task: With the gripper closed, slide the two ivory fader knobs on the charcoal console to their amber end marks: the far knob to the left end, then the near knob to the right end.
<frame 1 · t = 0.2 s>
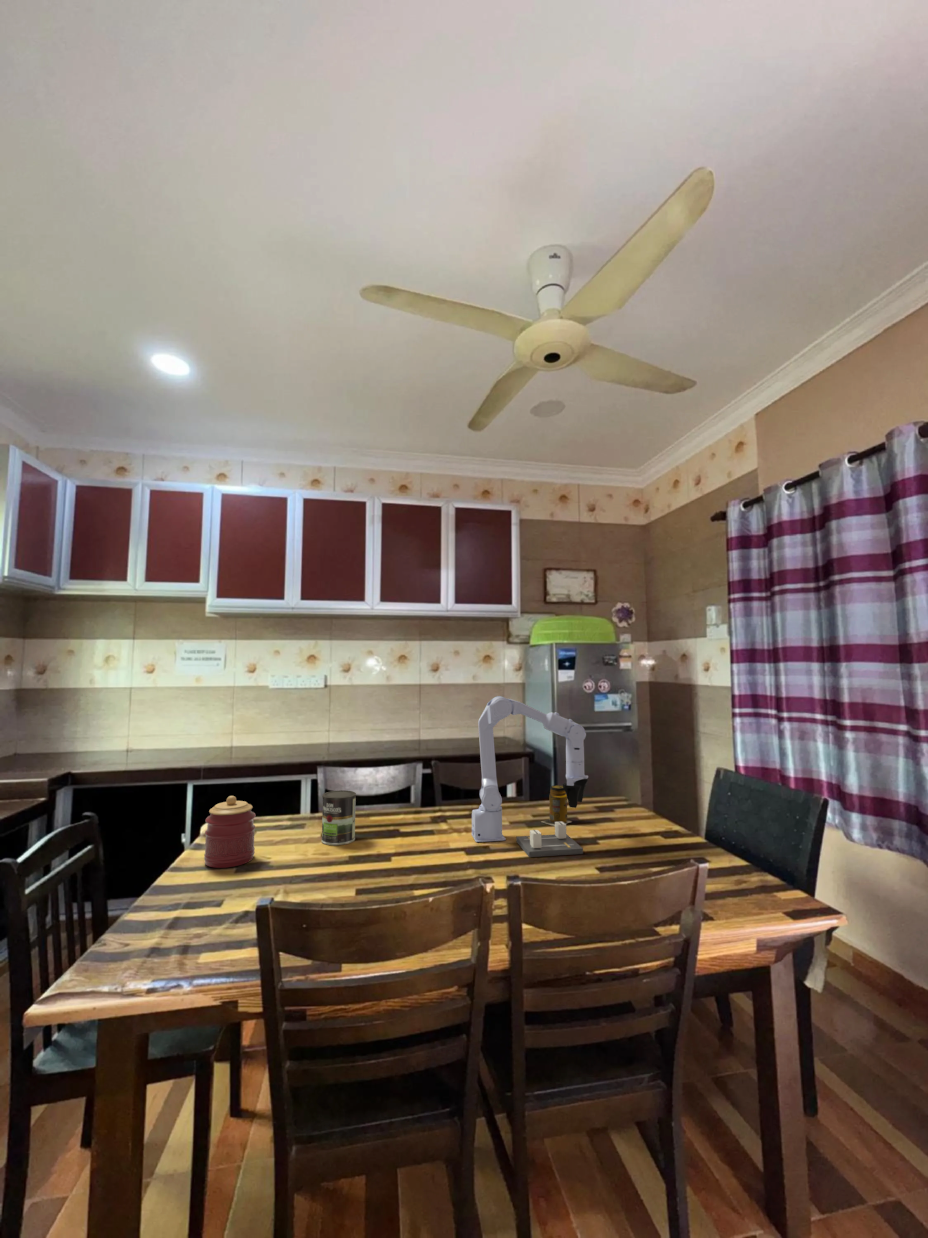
hand: (575, 804, 176), 10 cm above the table, fingers open, 7 cm apart
fader near: (535, 838, 161), point 4 cm above the table, slide at 0.0 cm
fader far: (560, 830, 169), point 4 cm above the table, slide at 0.0 cm
console: (548, 847, 165), on the table
condiment: (556, 823, 191), on the table
coffee can: (338, 841, 172), on the table
canister: (229, 861, 155), on the table
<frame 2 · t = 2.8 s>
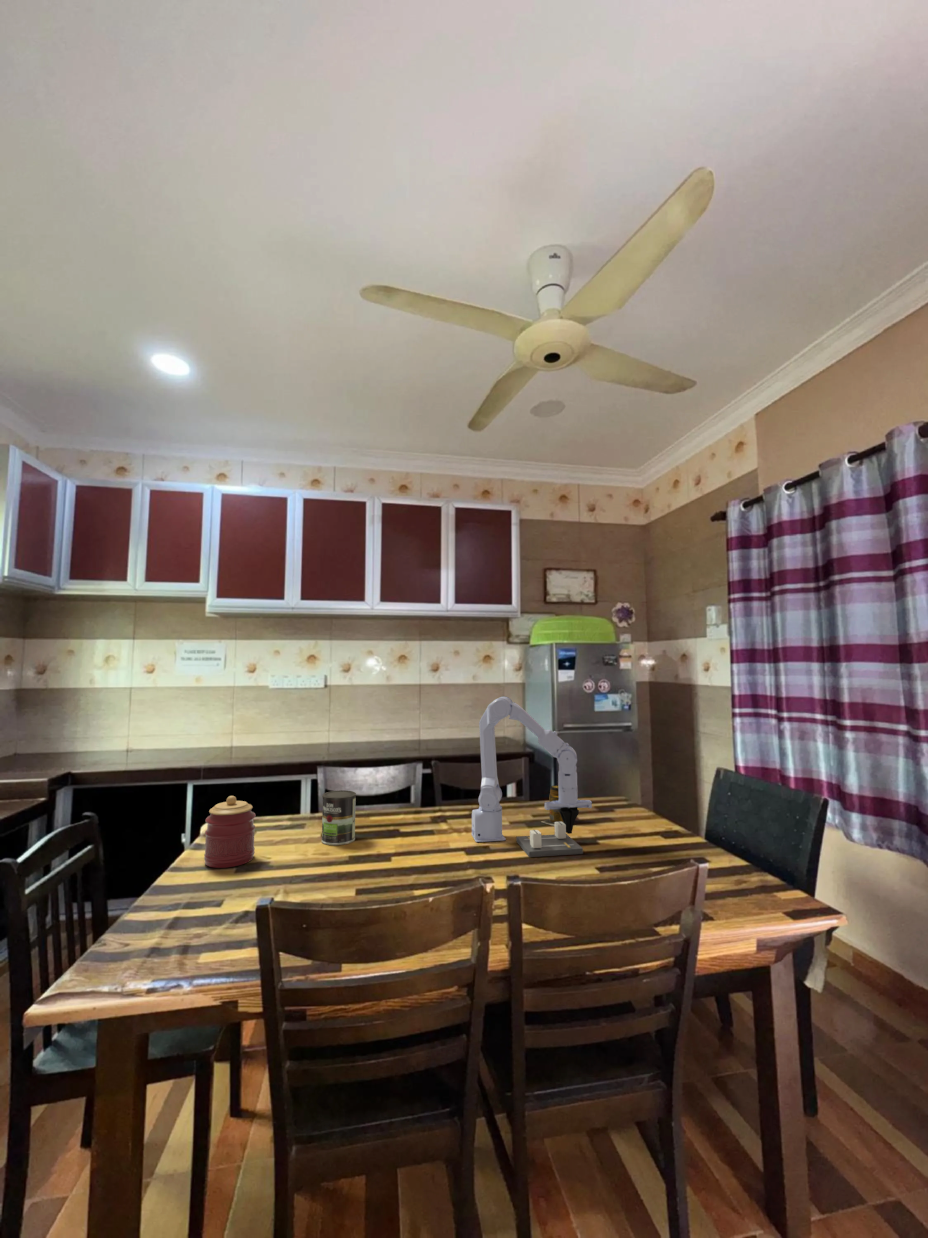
hand: (568, 832, 170), 3 cm above the table, fingers closed
fader far: (560, 830, 169), point 4 cm above the table, slide at 0.1 cm, touching gripper
everything else where it was.
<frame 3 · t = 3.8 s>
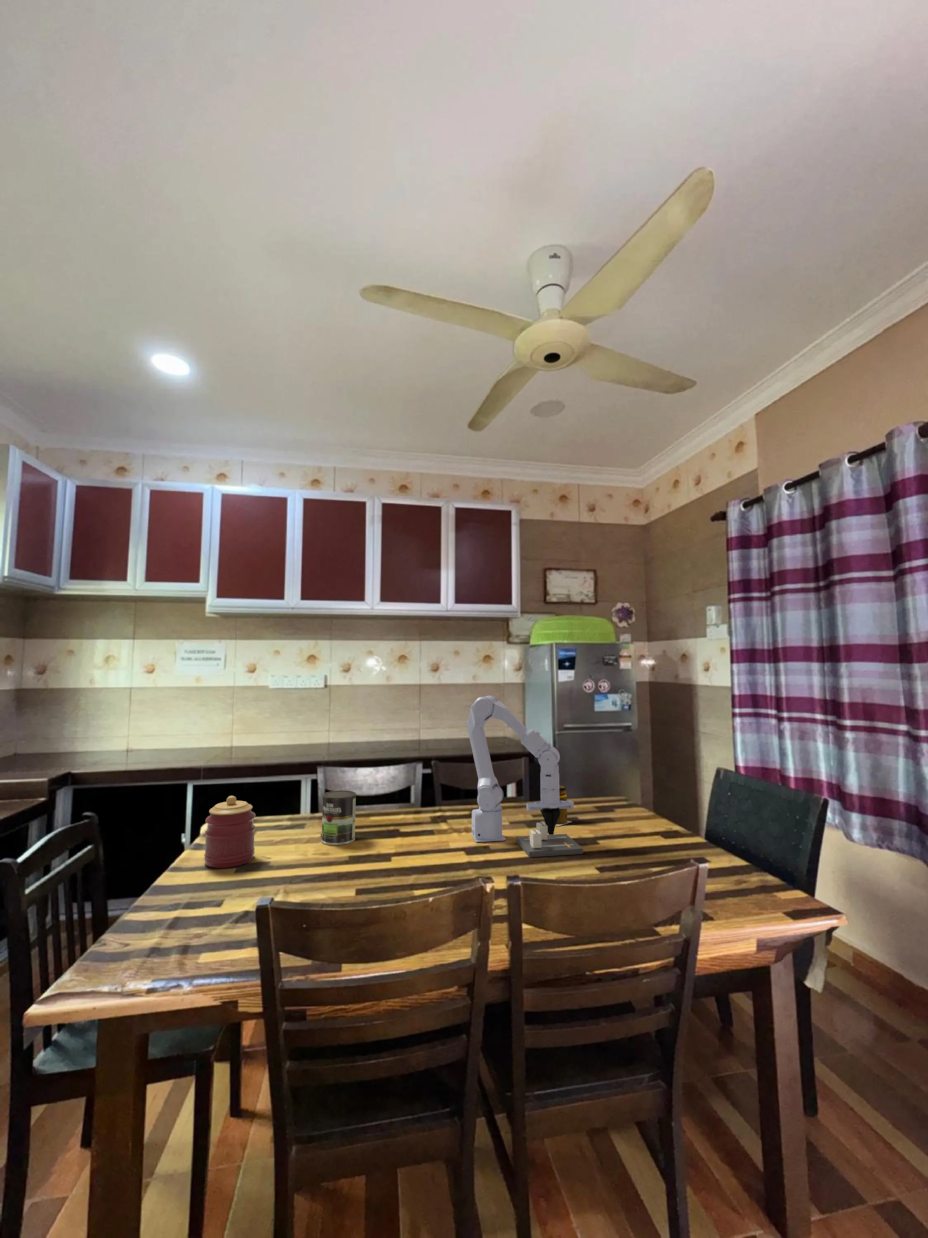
hand: (550, 833, 169), 3 cm above the table, fingers closed
fader far: (542, 831, 168), point 4 cm above the table, slide at 5.9 cm, touching gripper
everything else where it was.
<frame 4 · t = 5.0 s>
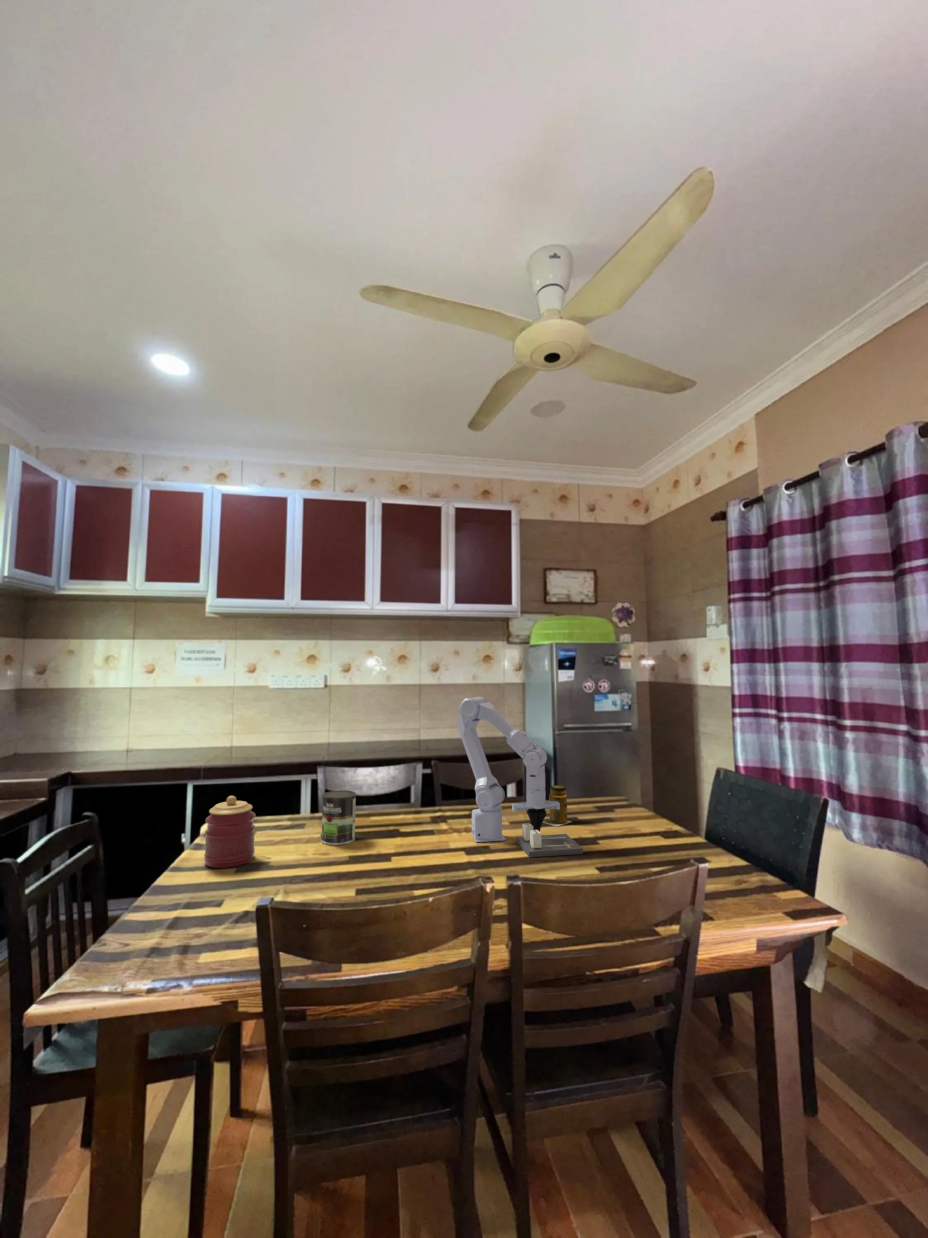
hand: (536, 834, 168), 3 cm above the table, fingers closed
fader far: (527, 831, 168), point 4 cm above the table, slide at 10.4 cm, touching gripper
everything else where it was.
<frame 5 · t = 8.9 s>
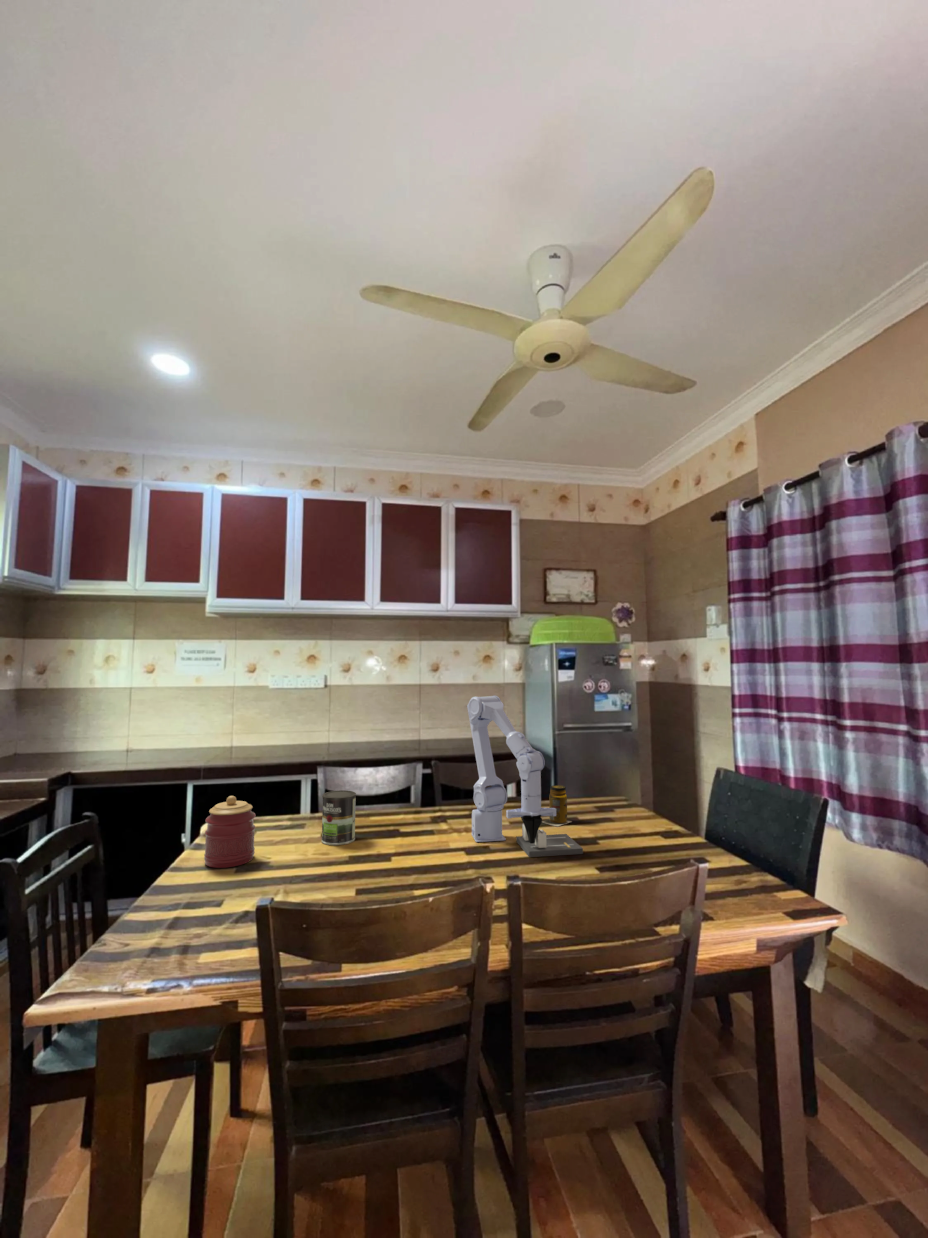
hand: (531, 842, 160), 3 cm above the table, fingers closed
fader near: (540, 838, 161), point 4 cm above the table, slide at 1.5 cm, touching gripper
fader far: (527, 831, 168), point 4 cm above the table, slide at 10.4 cm
everything else where it was.
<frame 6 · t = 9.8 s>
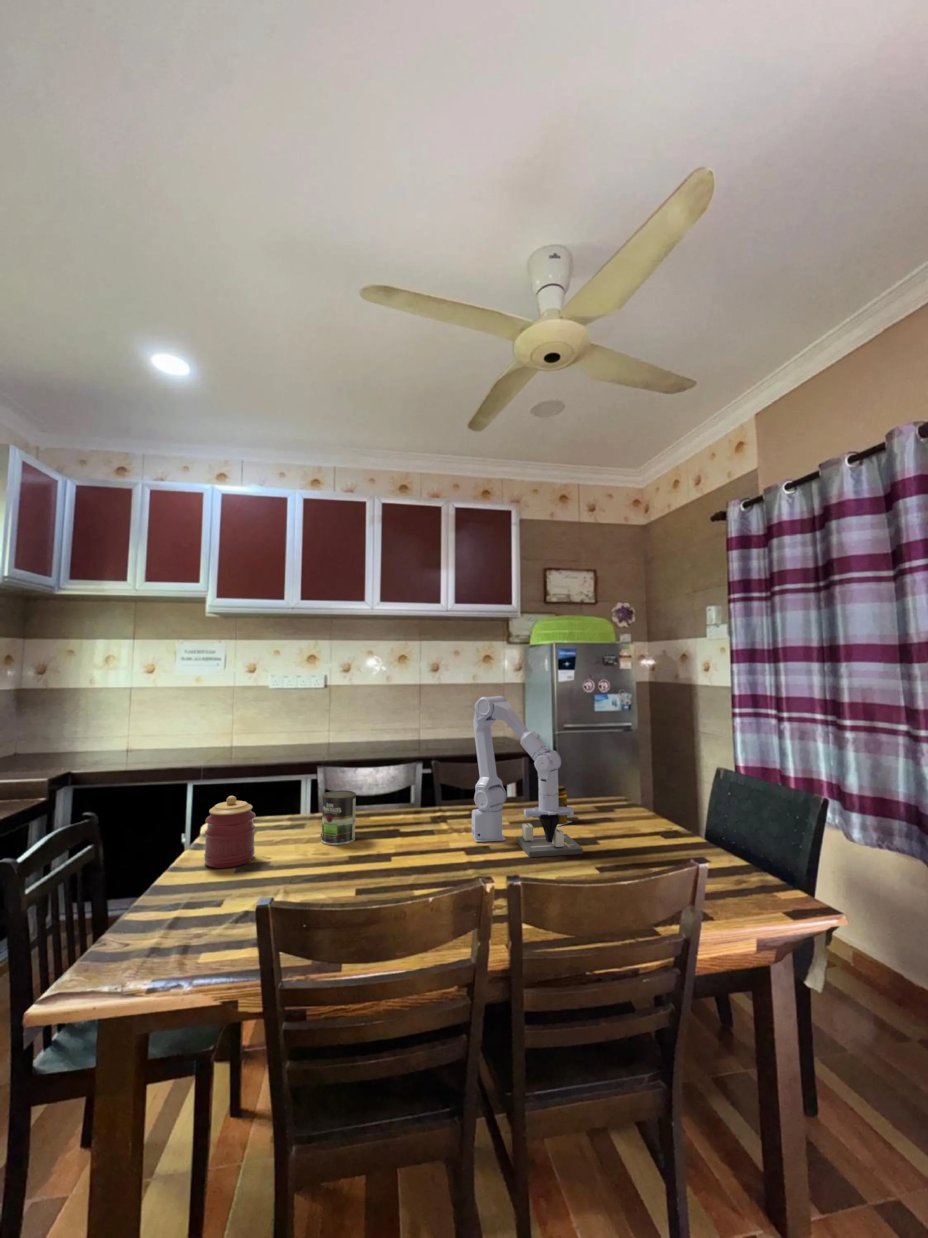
hand: (549, 841, 161), 3 cm above the table, fingers closed
fader near: (557, 837, 162), point 4 cm above the table, slide at 6.7 cm, touching gripper
everything else where it was.
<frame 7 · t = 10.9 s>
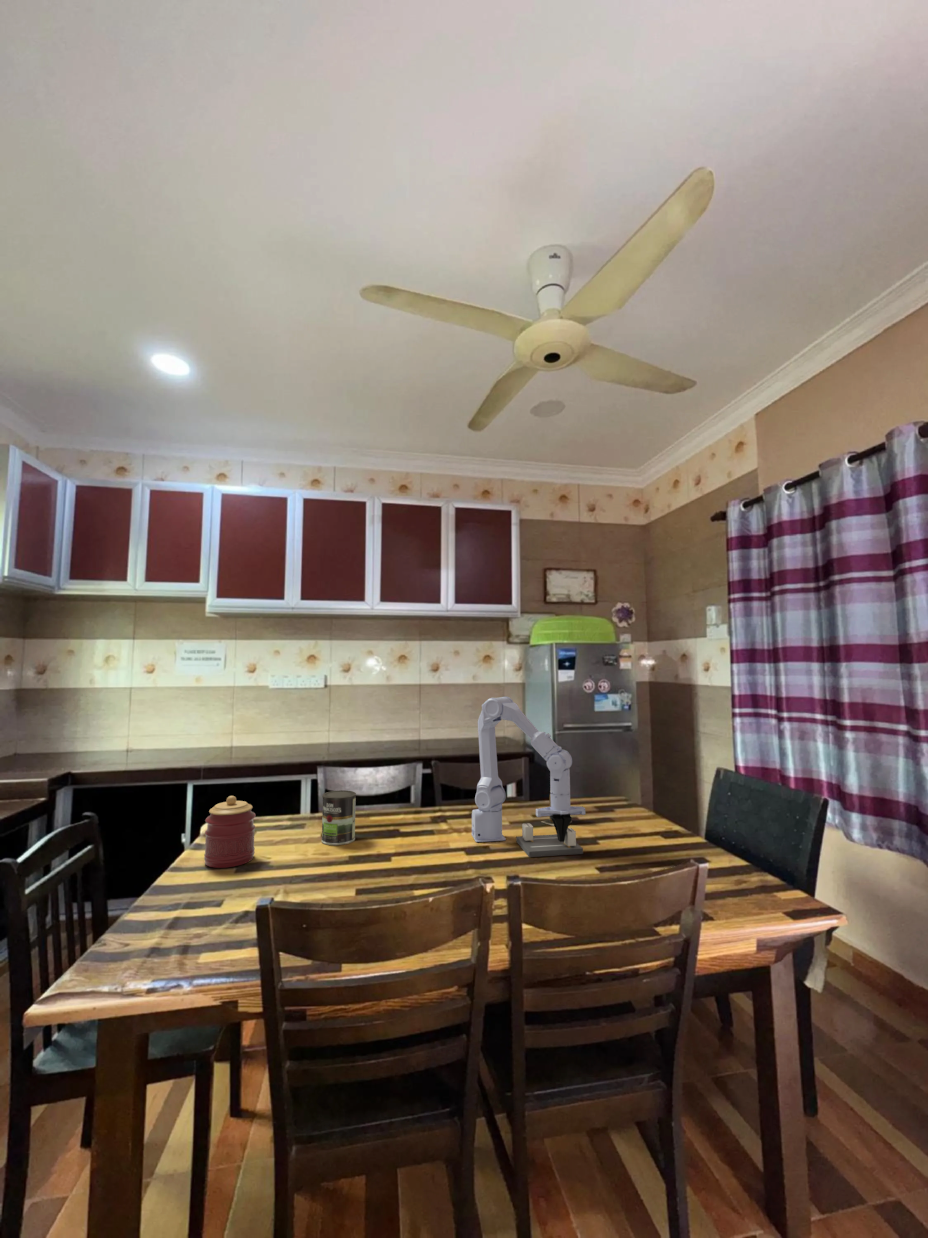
hand: (561, 840, 162), 3 cm above the table, fingers closed
fader near: (569, 836, 162), point 4 cm above the table, slide at 10.4 cm, touching gripper
everything else where it was.
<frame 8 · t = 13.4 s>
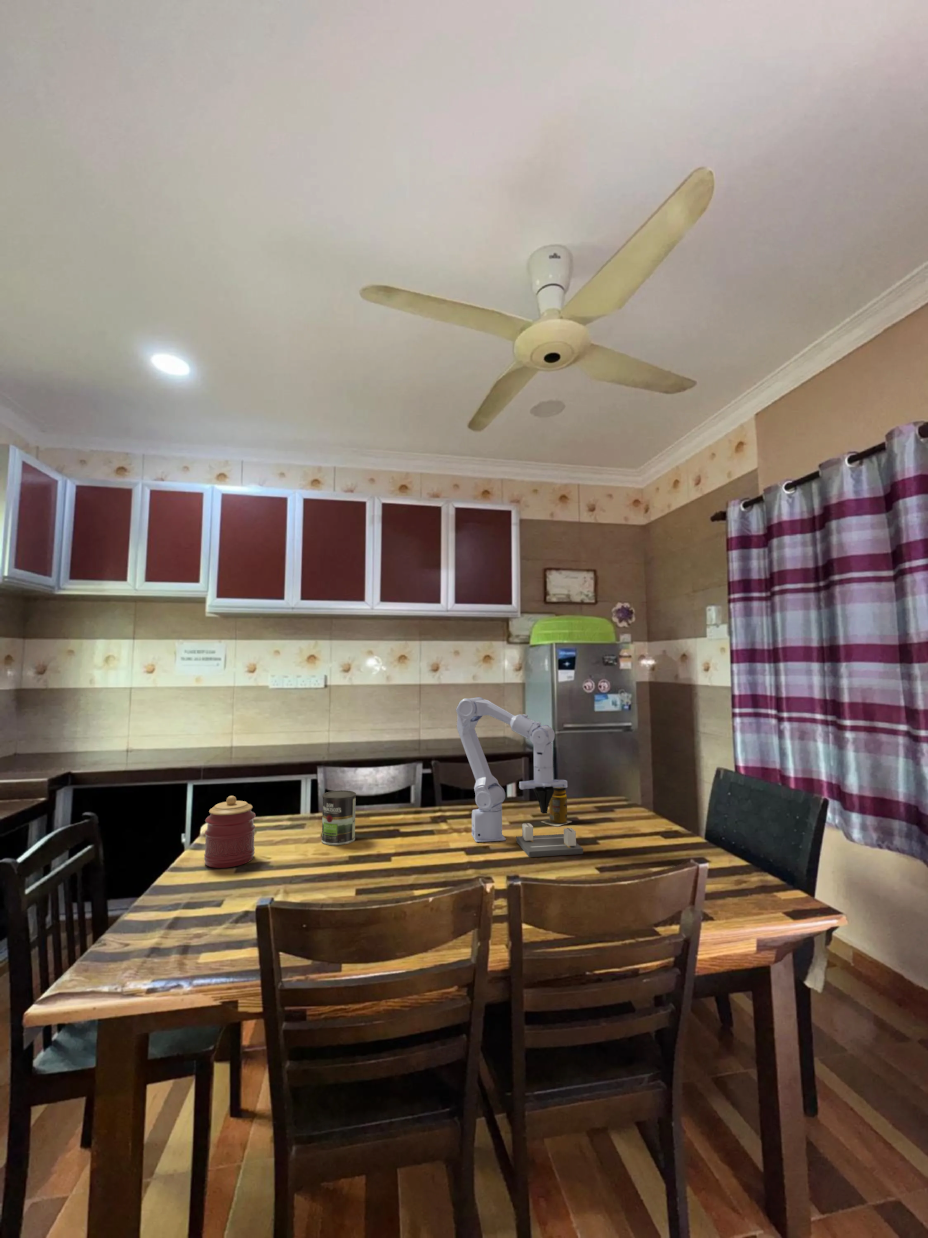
hand: (543, 812, 166), 10 cm above the table, fingers closed
fader near: (569, 836, 162), point 4 cm above the table, slide at 10.4 cm
everything else where it was.
at the end: fader far slide at 10.4 cm; fader near slide at 10.4 cm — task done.
